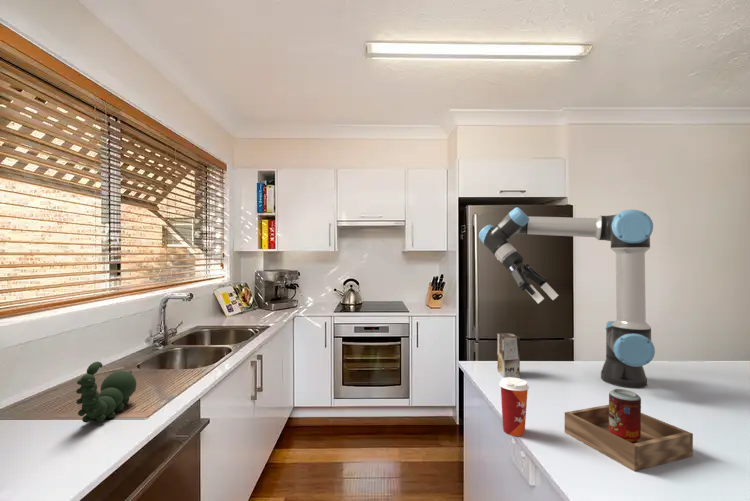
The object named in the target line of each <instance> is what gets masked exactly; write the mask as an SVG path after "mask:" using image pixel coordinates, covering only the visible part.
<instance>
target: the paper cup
mask: <svg viewBox="0 0 750 501" xmlns="http://www.w3.org/2000/svg"><path fill="white" fill-rule="evenodd" d="M499 386H500V398H501V413H502V414H501V416H502V418H501V419H502V430H503V432H504V433H505V434H507V435H509V436H512V437H522V436H524V435H525V432H526V418H527V404H528V403H527V402H528V390H529V389H530V387H529V385H528V381H526V380H524V379H522V378H513V377H507V378H504V377H503V378H501V379H500V382H499Z"/></svg>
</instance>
